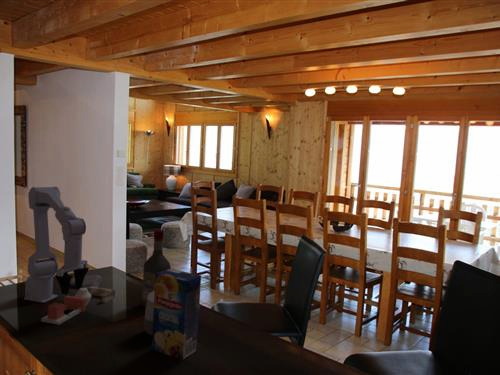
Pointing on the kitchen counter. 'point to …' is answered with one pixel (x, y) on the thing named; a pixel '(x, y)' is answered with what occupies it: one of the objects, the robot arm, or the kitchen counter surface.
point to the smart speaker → (149, 314)
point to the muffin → (84, 295)
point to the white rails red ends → (58, 310)
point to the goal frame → (102, 293)
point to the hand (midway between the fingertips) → (71, 290)
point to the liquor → (154, 266)
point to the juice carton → (176, 313)
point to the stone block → (89, 281)
